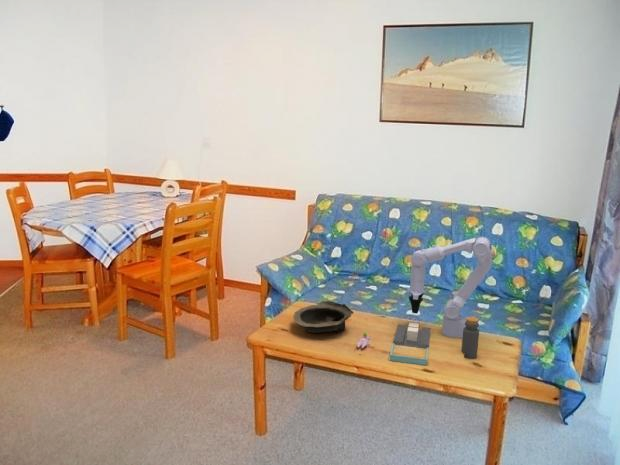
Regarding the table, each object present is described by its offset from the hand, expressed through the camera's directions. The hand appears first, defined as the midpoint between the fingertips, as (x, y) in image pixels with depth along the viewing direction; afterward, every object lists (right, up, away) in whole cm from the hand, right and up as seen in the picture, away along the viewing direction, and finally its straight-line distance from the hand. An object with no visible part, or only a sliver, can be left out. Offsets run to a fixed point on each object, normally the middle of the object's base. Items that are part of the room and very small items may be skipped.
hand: (415, 310), depth 230 cm
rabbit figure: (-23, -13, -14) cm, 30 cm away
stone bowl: (-39, -9, +2) cm, 40 cm away
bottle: (+17, -15, -20) cm, 30 cm away
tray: (-7, -14, -22) cm, 27 cm away
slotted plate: (-3, -11, -8) cm, 14 cm away
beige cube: (-3, -10, -9) cm, 14 cm away
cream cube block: (-2, -9, -4) cm, 10 cm away
